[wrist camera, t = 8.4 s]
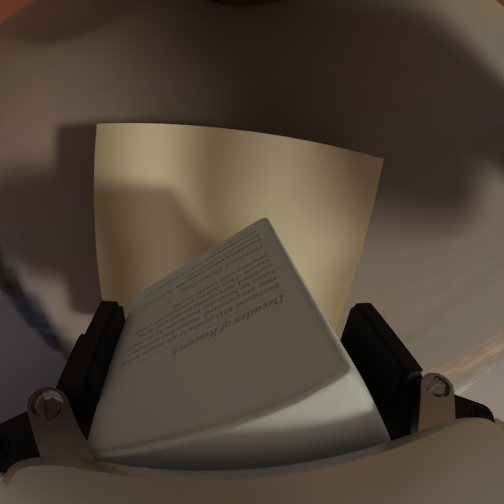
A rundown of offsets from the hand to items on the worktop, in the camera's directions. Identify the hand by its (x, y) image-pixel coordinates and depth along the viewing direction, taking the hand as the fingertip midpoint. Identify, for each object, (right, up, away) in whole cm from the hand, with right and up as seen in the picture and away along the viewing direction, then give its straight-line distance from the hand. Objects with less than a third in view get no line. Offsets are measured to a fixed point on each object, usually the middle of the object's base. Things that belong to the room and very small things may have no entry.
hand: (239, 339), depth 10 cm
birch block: (-1, +4, +9) cm, 10 cm away
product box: (0, +1, +2) cm, 2 cm away
